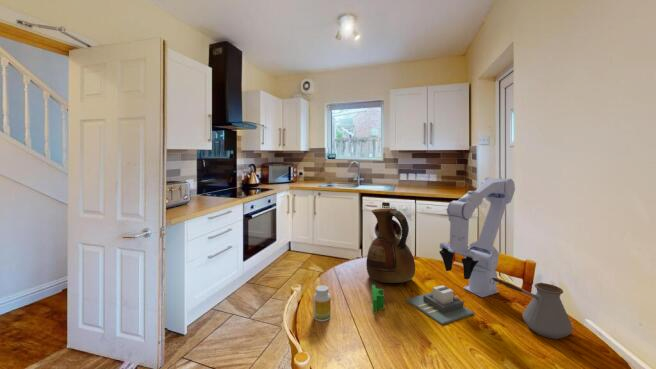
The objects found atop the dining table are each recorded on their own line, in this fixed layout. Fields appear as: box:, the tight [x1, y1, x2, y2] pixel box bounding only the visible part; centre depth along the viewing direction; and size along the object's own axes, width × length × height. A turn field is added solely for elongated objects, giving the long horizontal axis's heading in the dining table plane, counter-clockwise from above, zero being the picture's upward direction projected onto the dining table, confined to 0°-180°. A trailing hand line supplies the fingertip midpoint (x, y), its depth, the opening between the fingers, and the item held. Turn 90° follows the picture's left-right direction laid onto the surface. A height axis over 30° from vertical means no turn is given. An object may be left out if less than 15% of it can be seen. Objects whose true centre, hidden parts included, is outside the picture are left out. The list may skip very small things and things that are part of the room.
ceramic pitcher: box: [365, 207, 416, 284], centre depth 114 cm, size 20×20×30 cm
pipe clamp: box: [371, 284, 385, 314], centre depth 95 cm, size 11×4×5 cm, turn 173°
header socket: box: [405, 291, 475, 326], centre depth 93 cm, size 14×16×4 cm
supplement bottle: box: [313, 284, 332, 322], centre depth 87 cm, size 5×5×10 cm
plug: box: [432, 285, 454, 305], centre depth 94 cm, size 4×4×6 cm
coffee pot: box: [490, 278, 574, 340], centre depth 80 cm, size 21×12×15 cm, turn 82°
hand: (457, 274), depth 96 cm, fingers open, 7 cm apart
